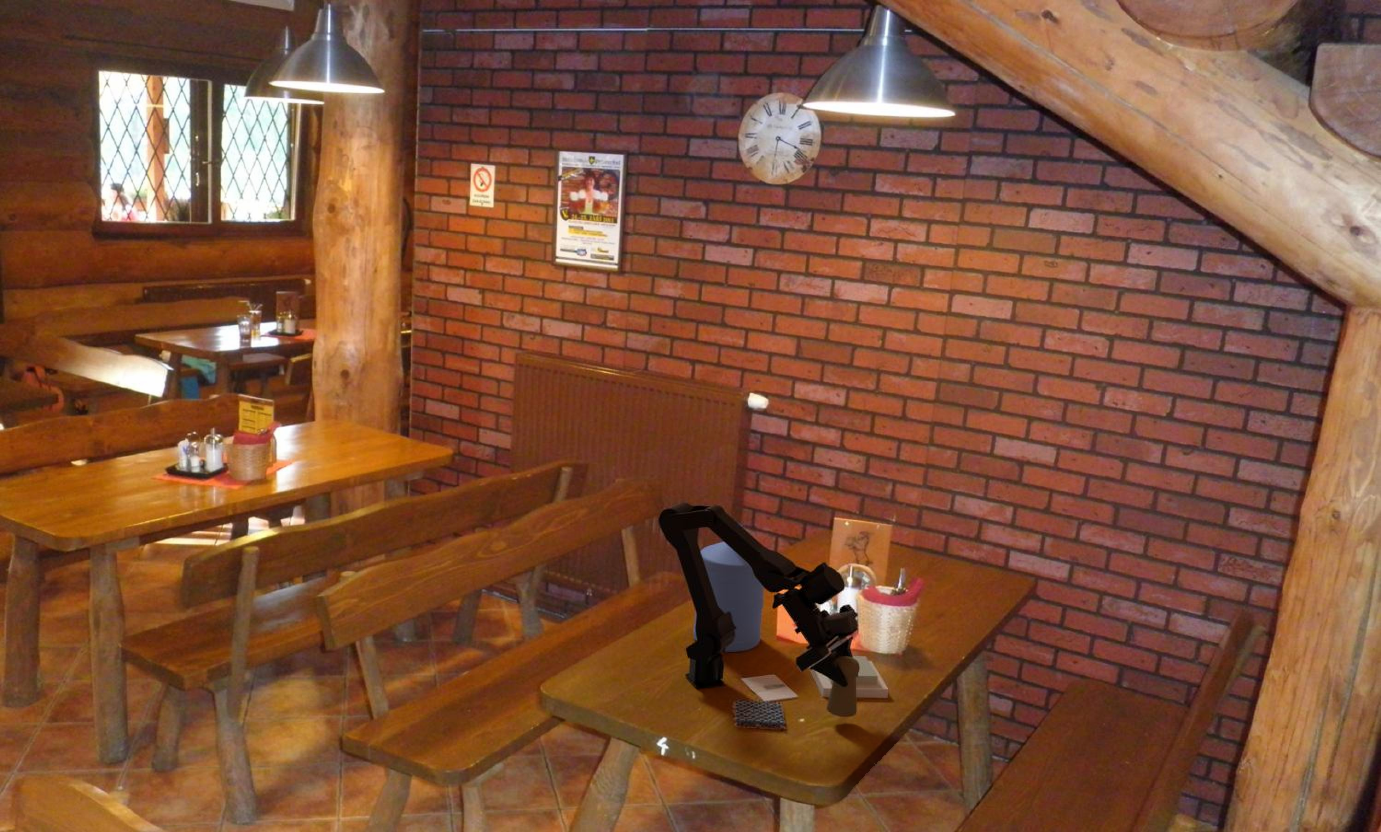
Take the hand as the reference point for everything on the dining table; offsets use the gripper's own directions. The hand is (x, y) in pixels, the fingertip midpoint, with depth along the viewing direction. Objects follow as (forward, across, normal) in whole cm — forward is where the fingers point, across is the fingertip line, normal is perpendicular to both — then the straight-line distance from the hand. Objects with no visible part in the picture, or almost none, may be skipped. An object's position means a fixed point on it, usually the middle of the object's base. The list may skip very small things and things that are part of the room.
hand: (851, 681), depth 234 cm
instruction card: (-7, +5, +21) cm, 23 cm away
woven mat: (-4, -8, +19) cm, 21 cm away
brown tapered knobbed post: (+4, 0, +6) cm, 7 cm away
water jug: (-21, +22, +35) cm, 47 cm away
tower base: (+2, +18, +12) cm, 22 cm away
